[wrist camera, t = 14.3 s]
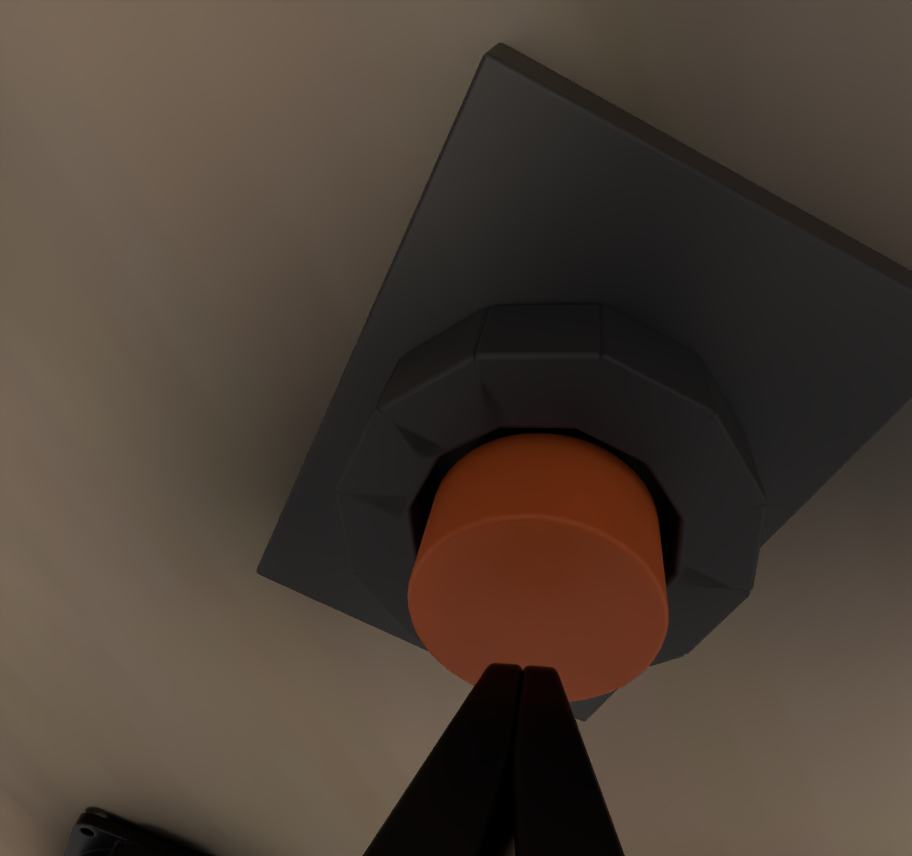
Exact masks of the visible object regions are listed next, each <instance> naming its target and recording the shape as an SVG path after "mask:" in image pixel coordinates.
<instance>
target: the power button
mask: <svg viewBox="0 0 912 856" xmlns="http://www.w3.org/2000/svg"><path fill="white" fill-rule="evenodd" d="M407 596H408V608H409V612H410V616H411V620H412V623H413V626H414V628H415V630H416V633H417V635H418V636H419V638H420V640H421V641H422V643H423V644H424V646H425V647H426V648H427V649H428V651H429V652H430V653H431V654H432V655H433V656H434V657H435V658H436V659H437V660H438V661H439V662H440V663H441V664H442V665H443V666H444V667H446V668H447V669H448V670H449V671H451V672H452V673H453V674H455V675H457V676H458V677H460V678H461V679H463V680H465V681H467V682H468V683H470V684H472V685H474V686H475V684H476V683H477V681H478V680H479V678H480V677H481V675H482V674H483V672H484V671H485V669H486V668H487V667H488V666H489V665H490V664H492V663H505V664H517V665H519V666H521V667H522V669H524V667H526V666H528V665H533V666H546V667H553V668H555V669H556V670H557V672H558V674H559V676H560V679H561V682H562V685H563V687H564V690H565V693H566V696H567V698H568V701H569V702H573V701H581V700H586V699H590V698H594V697H598V696H601V695H604V694H607V693H609V692H612V691H614V690H616V689H618V688H620V687H622V686H624V685H626V684H627V683H629V682H631V681H632V680H634V679H635V678H636V677H638V676H639V675H640V674H641V673H642V672H643V671H645V670H646V669H647V667H648V666H649V665H650V664H651V663H652V662H653V661H654V659H655V657H656V656H657V654H658V652H659V651H660V649H661V647H662V645H663V642H664V640H665V637H666V634H667V629H668V624H669V609H668V600H667V591H666V582H665V573H664V564H663V555H662V547H661V538H660V529H659V521H658V515H657V509H656V507H655V504H654V501H653V498H652V496H651V494H650V492H649V491H648V489H647V487H646V485H645V484H644V483H643V481H642V480H641V479H640V477H639V476H638V475H637V474H636V473H635V472H634V471H633V470H632V469H631V468H630V467H629V466H628V465H627V464H626V463H625V462H623V461H622V460H621V459H619V458H618V457H617V456H615V455H614V454H612V453H610V452H609V451H607V450H605V449H604V448H602V447H600V446H597V445H595V444H593V443H590V442H588V441H585V440H582V439H579V438H575V437H572V436H566V435H561V434H554V433H522V434H516V435H510V436H506V437H502V438H499V439H495V440H493V441H490V442H488V443H485V444H483V445H481V446H479V447H478V448H476V449H474V450H472V451H471V452H469V453H468V454H466V455H465V456H464V457H462V458H461V459H460V460H458V461H457V462H456V463H455V465H454V466H453V467H452V468H451V469H450V470H449V471H448V472H447V474H446V475H445V477H444V478H443V479H442V481H441V483H440V485H439V487H438V489H437V492H436V495H435V498H434V502H433V505H432V508H431V512H430V515H429V518H428V521H427V525H426V528H425V531H424V535H423V538H422V541H421V544H420V548H419V551H418V554H417V558H416V561H415V564H414V567H413V571H412V574H411V577H410V581H409V585H408V595H407Z"/></svg>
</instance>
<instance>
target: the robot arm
mask: <svg viewBox="0 0 912 856" xmlns="http://www.w3.org/2000/svg"><path fill="white" fill-rule="evenodd" d="M64 856H197V855H195V854H192V853H190V852H187V851H185V850H182V849H180V848H178V847H175V846H173V845H170V844H168V843H165V842H163V841H160V840H158V839H155V838H153V837H150V836H148V835H146V834H143V833H141V832H138V831H136V830H133V829H131V828H128V827H126V826H123V825H121V824H118V823H116V822H114V821H111V820H109V819H106V818H104V817H101V816H99V815H96V814H93V813H87V812H86V813H82V814H81V815H80V817H79V819H78V820H77V822H76V824H75V825H74V827H73V830H72V833H71V837H70V840H69V843H68V846H67V849H66V852H65V855H64ZM363 856H625V855H624V852H623V850H622V847H621V844H620V841H619V839H618V836H617V833H616V830H615V828H614V825H613V822H612V819H611V817H610V814H609V811H608V808H607V806H606V803H605V800H604V797H603V795H602V792H601V789H600V786H599V784H598V781H597V778H596V775H595V773H594V770H593V767H592V764H591V762H590V759H589V756H588V753H587V751H586V748H585V745H584V742H583V740H582V737H581V734H580V731H579V729H578V726H577V723H576V720H575V718H574V715H573V712H572V709H571V707H570V704H569V701H568V698H567V696H566V693H565V690H564V687H563V685H562V682H561V679H560V676H559V674H558V672H557V670H556V669H555V668H553V667H546V666H533V665H528V666H526V667H524V669H522V667H521V666H519V665H517V664H505V663H492V664H490V665H489V666H488V667H487V668H486V669H485V671H484V672H483V674H482V675H481V677H480V678H479V680H478V681H477V683H476V684H475V686H474V687H473V689H472V690H471V692H470V693H469V695H468V697H467V698H466V700H465V701H464V703H463V704H462V706H461V707H460V709H459V710H458V712H457V713H456V715H455V716H454V718H453V719H452V721H451V722H450V724H449V725H448V727H447V728H446V730H445V731H444V733H443V734H442V736H441V737H440V739H439V740H438V742H437V744H436V745H435V747H434V748H433V750H432V751H431V753H430V754H429V756H428V757H427V759H426V760H425V762H424V763H423V765H422V766H421V768H420V769H419V771H418V772H417V774H416V775H415V777H414V778H413V780H412V781H411V783H410V784H409V786H408V787H407V789H406V790H405V792H404V794H403V795H402V797H401V798H400V800H399V801H398V803H397V804H396V806H395V807H394V809H393V810H392V812H391V813H390V815H389V816H388V818H387V819H386V821H385V822H384V824H383V825H382V827H381V828H380V830H379V831H378V833H377V834H376V836H375V837H374V839H373V841H372V842H371V844H370V845H369V847H368V848H367V850H366V851H365V853H364V854H363Z"/></svg>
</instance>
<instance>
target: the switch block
mask: <svg viewBox="0 0 912 856" xmlns="http://www.w3.org/2000/svg"><path fill="white" fill-rule="evenodd" d="M911 397H912V271H910V270H908V269H907V268H905V267H903V266H901V265H900V264H898V263H896V262H894V261H892V260H891V259H889V258H887V257H885V256H883V255H882V254H880V253H878V252H876V251H874V250H873V249H871V248H869V247H867V246H865V245H864V244H862V243H860V242H858V241H857V240H855V239H853V238H851V237H849V236H848V235H846V234H844V233H842V232H840V231H839V230H837V229H835V228H833V227H831V226H830V225H828V224H826V223H824V222H822V221H821V220H819V219H817V218H815V217H814V216H812V215H810V214H808V213H806V212H805V211H803V210H801V209H799V208H797V207H796V206H794V205H792V204H790V203H788V202H787V201H785V200H783V199H781V198H780V197H778V196H776V195H774V194H772V193H771V192H769V191H767V190H765V189H763V188H762V187H760V186H758V185H756V184H754V183H753V182H751V181H749V180H747V179H745V178H744V177H742V176H740V175H738V174H737V173H735V172H733V171H731V170H729V169H728V168H726V167H724V166H722V165H720V164H719V163H717V162H715V161H713V160H711V159H710V158H708V157H706V156H704V155H702V154H701V153H699V152H697V151H695V150H694V149H692V148H690V147H688V146H686V145H685V144H683V143H681V142H679V141H677V140H676V139H674V138H672V137H670V136H668V135H667V134H665V133H663V132H661V131H659V130H658V129H656V128H654V127H652V126H651V125H649V124H647V123H645V122H643V121H642V120H640V119H638V118H636V117H634V116H633V115H631V114H629V113H627V112H625V111H624V110H622V109H620V108H618V107H617V106H615V105H613V104H611V103H609V102H608V101H606V100H604V99H602V98H600V97H599V96H597V95H595V94H593V93H591V92H590V91H588V90H586V89H584V88H582V87H581V86H579V85H577V84H575V83H574V82H572V81H570V80H568V79H566V78H565V77H563V76H561V75H559V74H557V73H556V72H554V71H552V70H550V69H548V68H547V67H545V66H543V65H541V64H539V63H538V62H536V61H534V60H532V59H531V58H529V57H527V56H525V55H523V54H522V53H520V52H518V51H516V50H514V49H513V48H511V47H509V46H507V45H505V44H504V43H498V44H497V45H496V46H494V47H493V48H492V49H490V50H489V51H488V52H487V53H485V54H484V55H483V57H482V59H481V62H480V64H479V66H478V68H477V71H476V73H475V75H474V78H473V80H472V82H471V84H470V87H469V89H468V91H467V93H466V96H465V98H464V100H463V102H462V105H461V107H460V109H459V112H458V114H457V116H456V118H455V121H454V123H453V125H452V127H451V130H450V132H449V134H448V137H447V139H446V141H445V143H444V146H443V148H442V150H441V152H440V155H439V157H438V159H437V161H436V164H435V166H434V168H433V171H432V173H431V175H430V177H429V180H428V182H427V184H426V186H425V189H424V191H423V193H422V196H421V198H420V200H419V202H418V205H417V207H416V209H415V211H414V214H413V216H412V218H411V220H410V223H409V225H408V227H407V230H406V232H405V234H404V236H403V239H402V241H401V243H400V245H399V248H398V250H397V252H396V254H395V257H394V259H393V261H392V264H391V266H390V268H389V270H388V273H387V275H386V277H385V279H384V282H383V284H382V286H381V289H380V291H379V293H378V295H377V298H376V300H375V302H374V304H373V307H372V309H371V311H370V313H369V316H368V318H367V320H366V323H365V325H364V327H363V329H362V332H361V334H360V336H359V338H358V341H357V343H356V345H355V348H354V350H353V352H352V354H351V357H350V359H349V361H348V363H347V366H346V368H345V370H344V372H343V375H342V377H341V379H340V382H339V384H338V386H337V388H336V391H335V393H334V395H333V397H332V400H331V402H330V404H329V407H328V409H327V411H326V413H325V416H324V418H323V420H322V422H321V425H320V427H319V429H318V431H317V434H316V436H315V438H314V441H313V443H312V445H311V447H310V450H309V452H308V454H307V456H306V459H305V461H304V463H303V466H302V468H301V470H300V472H299V475H298V477H297V479H296V481H295V484H294V486H293V488H292V490H291V493H290V495H289V497H288V500H287V502H286V504H285V506H284V509H283V511H282V513H281V515H280V518H279V520H278V522H277V524H276V527H275V529H274V531H273V534H272V536H271V538H270V540H269V543H268V545H267V547H266V549H265V552H264V554H263V556H262V559H261V561H260V563H259V565H258V568H257V573H258V574H259V575H262V576H264V577H266V578H268V579H270V580H273V581H275V582H277V583H279V584H281V585H284V586H286V587H288V588H290V589H292V590H295V591H297V592H299V593H301V594H303V595H306V596H308V597H310V598H312V599H314V600H317V601H319V602H321V603H323V604H325V605H328V606H330V607H332V608H334V609H336V610H339V611H341V612H343V613H345V614H348V615H350V616H352V617H354V618H356V619H359V620H361V621H363V622H365V623H367V624H370V625H372V626H374V627H376V628H378V629H381V630H383V631H385V632H387V633H389V634H392V635H394V636H396V637H398V638H400V639H403V640H405V641H407V642H409V643H411V644H414V645H416V646H418V647H420V648H422V649H425V650H427V651H428V649H427V648H426V647H425V646H424V644H423V643H422V641H421V640H420V638H419V636H418V635H417V633H416V630H415V628H414V626H413V623H412V620H411V616H410V612H409V608H408V596H407V595H408V585H409V581H410V577H411V574H412V571H413V567H414V564H415V561H416V558H417V554H418V551H419V548H420V544H421V541H422V538H423V535H424V531H425V528H426V525H427V521H428V518H429V515H430V512H431V508H432V505H433V502H434V498H435V495H436V492H437V489H438V487H439V485H440V483H441V481H442V479H443V478H444V477H445V475H446V474H447V472H448V471H449V470H450V469H451V468H452V467H453V466H454V465H455V463H456V462H457V461H458V460H460V459H461V458H462V457H464V456H465V455H466V454H468V453H469V452H471V451H472V450H474V449H476V448H478V447H479V446H481V445H483V444H485V443H488V442H490V441H493V440H495V439H499V438H502V437H506V436H510V435H516V434H522V433H554V434H561V435H566V436H572V437H575V438H579V439H582V440H585V441H588V442H590V443H593V444H595V445H597V446H600V447H602V448H604V449H605V450H607V451H609V452H610V453H612V454H614V455H615V456H617V457H618V458H619V459H621V460H622V461H623V462H625V463H626V464H627V465H628V466H629V467H630V468H631V469H632V470H633V471H634V472H635V473H636V474H637V475H638V476H639V477H640V479H641V480H642V481H643V483H644V484H645V485H646V487H647V489H648V491H649V492H650V494H651V496H652V498H653V501H654V504H655V507H656V509H657V515H658V521H659V529H660V538H661V547H662V555H663V564H664V573H665V582H666V591H667V600H668V609H669V624H668V629H667V634H666V637H665V640H664V642H663V645H662V647H661V649H660V651H659V652H658V654H657V656H656V657H655V659H654V661H653V662H652V663H651V664H650V665H649V666H652V665H656V664H659V663H662V662H666V661H669V660H672V659H676V658H679V657H682V656H683V655H684V654H687V653H689V652H690V651H691V650H692V649H693V648H694V647H695V646H696V645H697V644H698V643H700V642H701V641H702V640H703V639H704V638H705V637H706V636H707V635H708V634H709V633H710V632H711V631H712V630H713V629H714V628H715V627H716V626H717V625H718V624H720V623H721V622H722V621H723V620H724V619H725V618H726V617H727V616H728V615H729V614H730V613H731V612H732V611H733V610H734V609H735V608H736V607H737V606H739V605H740V604H741V603H742V602H743V601H744V600H745V599H746V598H747V597H748V596H749V594H750V591H751V590H752V588H753V584H754V579H755V573H756V567H757V562H758V556H759V550H760V547H761V546H762V545H763V544H764V543H765V542H766V541H767V540H768V539H769V538H770V537H771V536H772V535H773V534H774V533H775V532H776V531H777V530H778V529H779V528H780V527H781V526H782V525H783V524H784V523H785V522H786V521H787V520H788V519H789V518H790V517H791V516H792V515H793V514H794V513H795V512H796V511H797V510H799V509H800V508H801V507H802V506H803V505H804V504H805V503H806V502H807V501H808V500H809V499H810V498H811V497H812V496H813V495H814V494H815V493H816V492H817V491H818V490H819V489H820V488H821V487H822V486H823V485H824V484H825V483H826V482H827V481H828V480H829V479H830V478H831V477H832V476H833V475H834V474H835V473H836V472H837V471H838V470H839V469H840V468H841V467H842V466H843V465H844V464H845V463H846V462H847V461H848V460H849V459H850V458H851V457H852V456H853V455H854V454H855V453H856V452H857V451H858V450H859V449H860V448H861V447H862V446H863V445H864V444H865V443H866V442H867V441H868V440H869V439H870V438H871V437H872V436H873V435H874V434H875V433H876V432H877V431H878V430H879V429H880V428H881V427H882V426H883V425H884V424H885V423H886V422H887V421H888V420H889V419H890V418H891V417H892V416H893V415H894V414H895V413H896V412H897V411H898V410H899V409H900V408H901V407H902V406H903V405H904V404H905V403H906V402H907V401H908V400H909V399H910V398H911ZM649 666H648V667H649ZM616 690H617V689H616ZM616 690H614V691H612V692H609V693H607V694H604V695H601V696H598V697H594V698H590V699H586V700H581V701H573V702H569V704H570V707H571V709H572V712H573V715H574V718H577V719H579V720H581V721H586V720H587V719H588V718H589V717H590V716H591V715H592V714H593V713H594V712H595V711H596V710H597V709H598V708H599V707H600V706H601V705H602V704H603V703H604V702H605V701H606V700H607V699H608V698H609V697H610V696H611V695H612V694H613V693H614V692H615V691H616Z"/></svg>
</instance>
